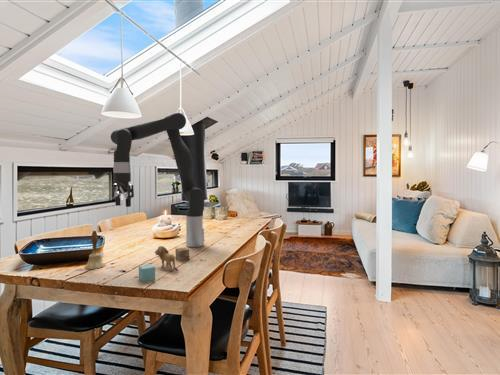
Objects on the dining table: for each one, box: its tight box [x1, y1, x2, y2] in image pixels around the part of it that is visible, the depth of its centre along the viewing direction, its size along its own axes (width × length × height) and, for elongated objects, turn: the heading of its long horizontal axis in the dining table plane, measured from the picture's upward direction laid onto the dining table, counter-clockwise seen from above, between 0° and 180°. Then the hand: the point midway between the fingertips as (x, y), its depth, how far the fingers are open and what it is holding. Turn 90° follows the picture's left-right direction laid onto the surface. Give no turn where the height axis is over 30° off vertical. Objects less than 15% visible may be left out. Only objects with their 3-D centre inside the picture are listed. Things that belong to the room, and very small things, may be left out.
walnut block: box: [175, 247, 190, 262], centre depth 151 cm, size 5×5×5 cm
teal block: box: [138, 263, 156, 282], centre depth 124 cm, size 5×5×5 cm
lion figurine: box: [154, 245, 179, 273], centre depth 137 cm, size 15×5×9 cm, turn 50°
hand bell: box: [84, 230, 106, 270], centre depth 139 cm, size 8×8×16 cm
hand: (123, 206), depth 148 cm, fingers open, 8 cm apart
